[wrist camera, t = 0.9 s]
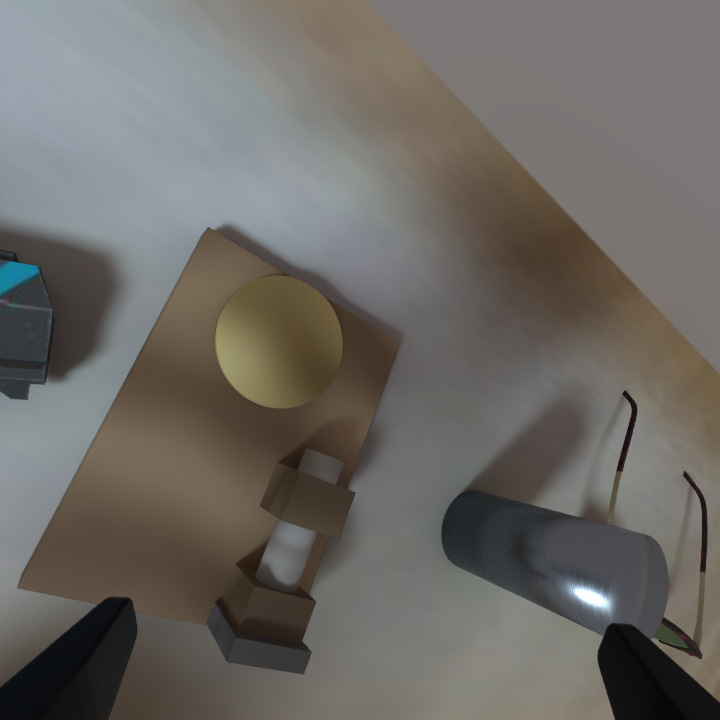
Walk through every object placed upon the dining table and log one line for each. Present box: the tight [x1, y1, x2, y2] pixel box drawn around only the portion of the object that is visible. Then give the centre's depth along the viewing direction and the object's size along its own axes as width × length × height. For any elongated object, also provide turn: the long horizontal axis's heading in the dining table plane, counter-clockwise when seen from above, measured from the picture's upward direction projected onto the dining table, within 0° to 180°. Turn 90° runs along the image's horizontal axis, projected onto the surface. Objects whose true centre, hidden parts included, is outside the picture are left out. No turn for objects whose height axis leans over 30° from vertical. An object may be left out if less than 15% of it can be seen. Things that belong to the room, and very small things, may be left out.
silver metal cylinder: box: [442, 490, 668, 640], centre depth 24 cm, size 5×5×10 cm
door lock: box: [17, 227, 400, 674], centre depth 19 cm, size 15×11×4 cm
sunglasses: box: [606, 391, 707, 659], centre depth 36 cm, size 14×15×5 cm
